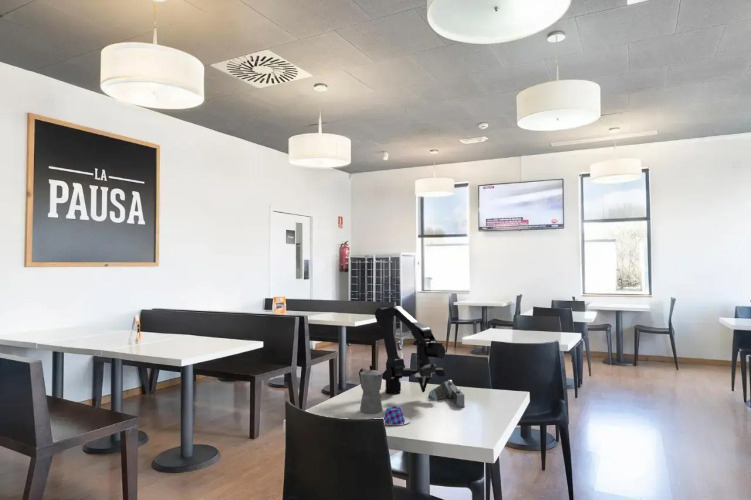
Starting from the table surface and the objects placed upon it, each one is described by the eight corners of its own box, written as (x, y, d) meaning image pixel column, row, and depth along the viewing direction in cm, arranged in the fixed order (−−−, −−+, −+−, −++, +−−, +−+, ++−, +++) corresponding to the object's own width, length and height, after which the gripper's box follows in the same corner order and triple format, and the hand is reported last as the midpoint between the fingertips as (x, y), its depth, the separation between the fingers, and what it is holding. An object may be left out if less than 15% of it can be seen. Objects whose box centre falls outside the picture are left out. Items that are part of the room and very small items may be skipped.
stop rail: (457, 407, 205) (457, 391, 206) (444, 392, 231) (444, 378, 232) (464, 407, 206) (464, 390, 206) (451, 392, 232) (450, 378, 232)
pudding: (388, 416, 194) (388, 402, 194) (415, 420, 188) (415, 406, 188) (371, 423, 184) (371, 409, 184) (400, 429, 177) (400, 414, 178)
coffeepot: (390, 412, 197) (390, 366, 198) (370, 416, 192) (370, 369, 193) (369, 404, 210) (369, 361, 211) (349, 407, 205) (350, 363, 206)
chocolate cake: (422, 395, 228) (426, 381, 220) (435, 389, 231) (440, 375, 222) (434, 413, 222) (438, 399, 214) (447, 407, 225) (452, 392, 216)
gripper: (404, 359, 211) (404, 397, 210) (447, 359, 212) (448, 396, 211) (401, 355, 222) (401, 390, 221) (442, 354, 223) (442, 390, 223)
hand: (423, 392), depth 219 cm, fingers closed
